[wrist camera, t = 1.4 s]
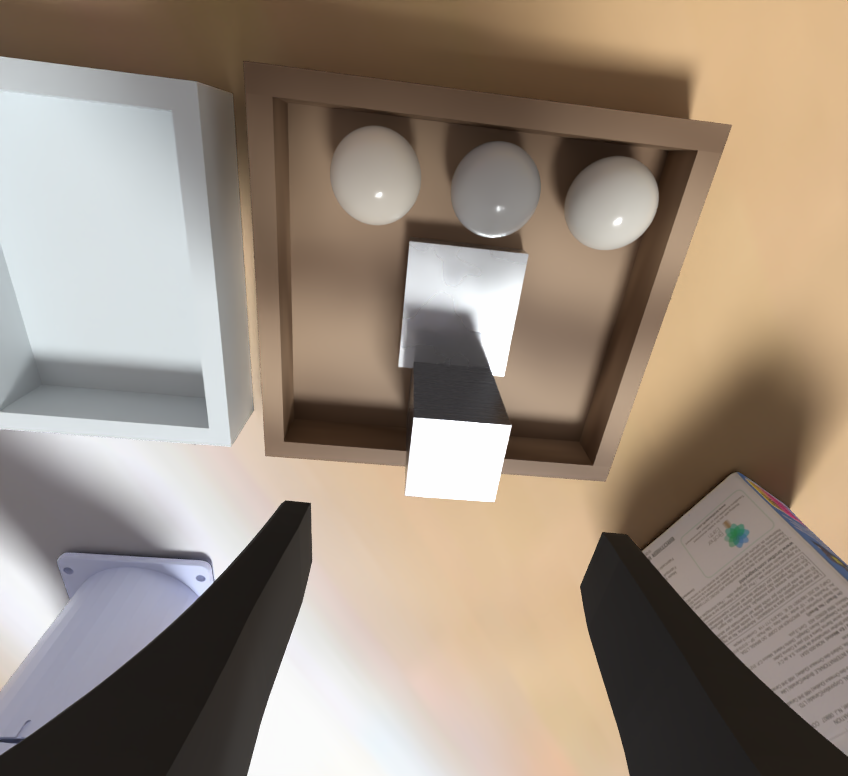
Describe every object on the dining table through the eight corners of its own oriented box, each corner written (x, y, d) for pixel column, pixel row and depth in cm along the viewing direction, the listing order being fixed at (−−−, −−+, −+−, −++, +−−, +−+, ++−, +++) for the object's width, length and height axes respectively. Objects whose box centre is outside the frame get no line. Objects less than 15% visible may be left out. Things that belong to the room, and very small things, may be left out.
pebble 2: (520, 234, 18) (539, 250, 15) (442, 226, 18) (448, 240, 15) (537, 147, 16) (561, 146, 14) (453, 136, 16) (461, 133, 13)
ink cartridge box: (665, 614, 29) (870, 990, 16) (599, 581, 27) (767, 966, 14) (799, 510, 25) (1207, 887, 12) (732, 466, 24) (1115, 841, 11)
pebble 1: (416, 223, 17) (417, 236, 15) (336, 214, 17) (321, 226, 15) (425, 133, 16) (427, 129, 13) (338, 122, 16) (323, 116, 13)
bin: (253, 410, 22) (231, 447, 19) (37, 392, 21) (-18, 427, 18) (233, 93, 16) (196, 81, 13) (-64, 56, 15) (-165, 35, 13)
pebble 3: (621, 246, 18) (658, 262, 15) (545, 238, 18) (569, 253, 15) (646, 160, 17) (691, 162, 14) (565, 150, 16) (594, 150, 14)
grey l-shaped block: (488, 423, 21) (510, 503, 17) (393, 415, 21) (387, 494, 16) (522, 249, 18) (564, 284, 13) (409, 236, 18) (408, 269, 13)
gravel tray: (586, 449, 23) (605, 481, 21) (280, 425, 22) (265, 455, 20) (689, 128, 17) (732, 124, 14) (267, 74, 16) (243, 60, 13)
